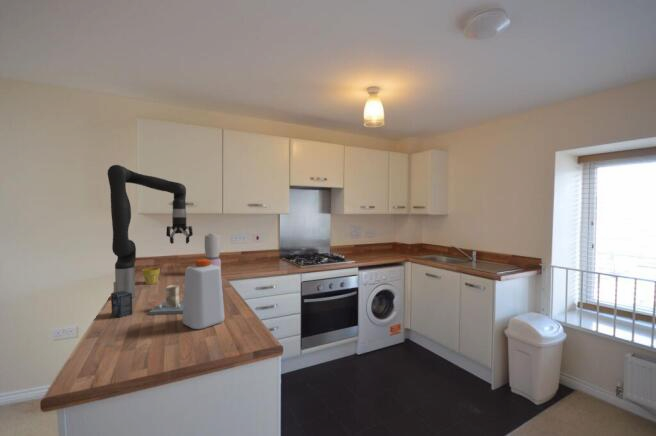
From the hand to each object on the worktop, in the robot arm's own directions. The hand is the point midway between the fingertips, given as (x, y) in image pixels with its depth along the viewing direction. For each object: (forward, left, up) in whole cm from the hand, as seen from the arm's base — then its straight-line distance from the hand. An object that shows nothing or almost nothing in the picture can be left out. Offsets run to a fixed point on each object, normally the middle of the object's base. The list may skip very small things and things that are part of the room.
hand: (179, 243), depth 181 cm
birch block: (+7, -30, -29) cm, 42 cm away
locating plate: (+7, -30, -30) cm, 43 cm away
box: (-14, -36, -30) cm, 49 cm away
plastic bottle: (+28, -51, -30) cm, 66 cm away
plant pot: (-29, +28, -30) cm, 50 cm away
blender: (+6, +53, -30) cm, 61 cm away
